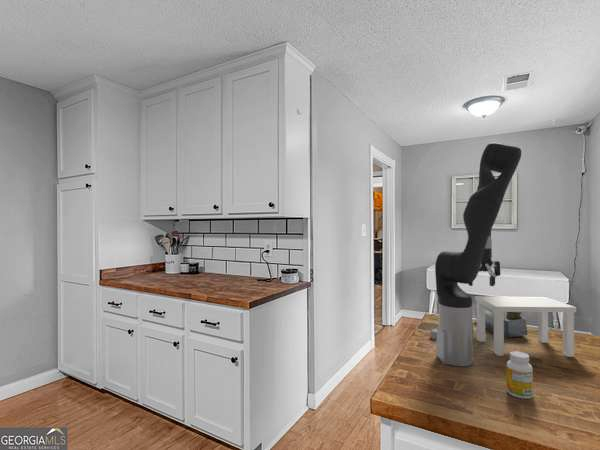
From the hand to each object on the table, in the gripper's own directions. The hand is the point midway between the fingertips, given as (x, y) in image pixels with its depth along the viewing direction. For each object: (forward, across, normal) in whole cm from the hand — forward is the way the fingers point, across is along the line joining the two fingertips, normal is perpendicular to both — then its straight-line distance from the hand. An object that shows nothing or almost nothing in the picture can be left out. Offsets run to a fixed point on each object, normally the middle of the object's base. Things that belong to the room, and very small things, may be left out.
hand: (481, 285), depth 138 cm
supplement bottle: (+16, -18, -58) cm, 63 cm away
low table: (+15, 0, -28) cm, 32 cm away
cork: (+16, +5, -14) cm, 22 cm away
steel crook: (+15, +3, -8) cm, 17 cm away
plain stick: (+16, -18, -15) cm, 28 cm away
